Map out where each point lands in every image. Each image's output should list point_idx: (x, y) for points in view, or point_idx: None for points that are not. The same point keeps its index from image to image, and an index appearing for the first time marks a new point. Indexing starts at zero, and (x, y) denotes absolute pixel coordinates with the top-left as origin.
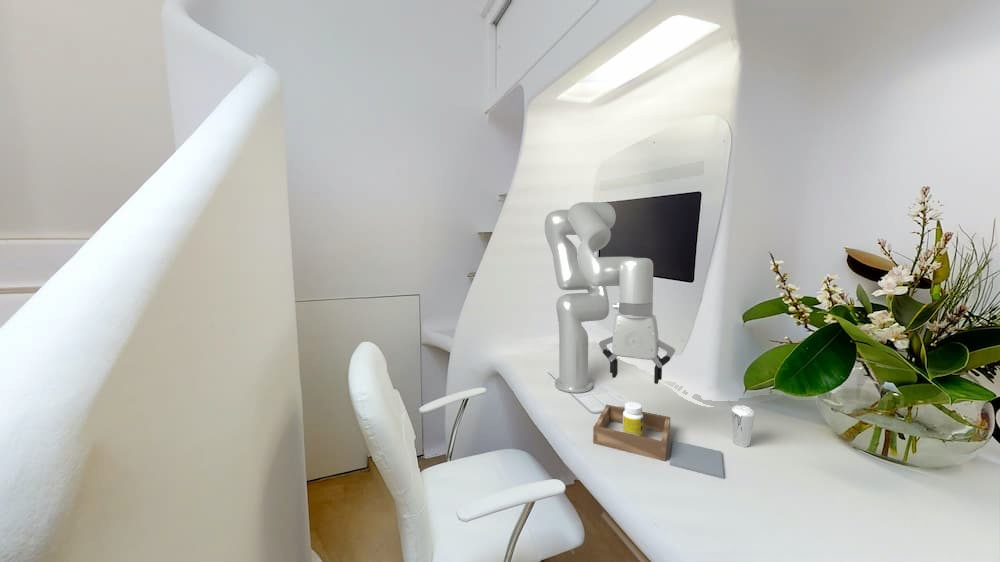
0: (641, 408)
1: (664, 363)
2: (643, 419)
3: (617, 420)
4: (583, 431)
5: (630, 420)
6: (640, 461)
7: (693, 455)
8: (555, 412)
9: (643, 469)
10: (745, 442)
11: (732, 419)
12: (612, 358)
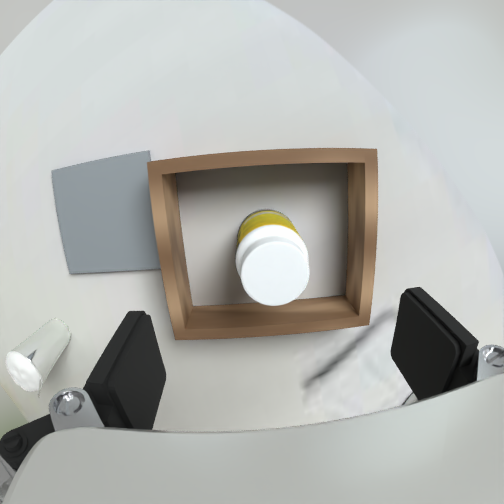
0: (240, 270)
1: (45, 421)
2: (250, 316)
3: (324, 300)
4: (395, 199)
5: (273, 223)
6: (218, 123)
7: (107, 220)
8: (468, 262)
9: (204, 93)
10: (46, 323)
11: (47, 358)
12: (492, 365)
